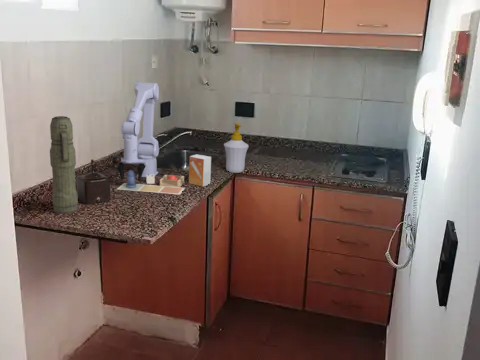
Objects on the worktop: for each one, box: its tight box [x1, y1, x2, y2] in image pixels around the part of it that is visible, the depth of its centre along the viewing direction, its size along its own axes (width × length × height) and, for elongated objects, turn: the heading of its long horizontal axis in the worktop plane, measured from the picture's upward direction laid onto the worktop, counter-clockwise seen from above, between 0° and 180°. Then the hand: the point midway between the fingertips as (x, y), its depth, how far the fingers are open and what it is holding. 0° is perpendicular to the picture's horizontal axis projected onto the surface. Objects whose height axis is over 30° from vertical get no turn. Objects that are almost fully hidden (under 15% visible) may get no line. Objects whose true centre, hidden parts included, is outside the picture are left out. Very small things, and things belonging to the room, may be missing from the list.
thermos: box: [49, 115, 79, 215], centre depth 179 cm, size 9×12×35 cm
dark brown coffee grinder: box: [75, 155, 122, 206], centre depth 196 cm, size 16×11×18 cm
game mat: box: [116, 182, 186, 196], centre depth 214 cm, size 10×28×1 cm, turn 84°
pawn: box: [126, 169, 137, 188], centre depth 214 cm, size 4×4×8 cm
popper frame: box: [159, 174, 185, 188], centre depth 222 cm, size 9×9×3 cm
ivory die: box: [145, 174, 156, 185], centre depth 223 cm, size 4×4×4 cm
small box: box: [188, 153, 212, 188], centre depth 224 cm, size 8×6×13 cm
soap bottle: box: [223, 122, 249, 174], centre depth 247 cm, size 13×13×25 cm
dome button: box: [166, 174, 178, 181], centre depth 222 cm, size 5×5×4 cm
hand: (131, 179), depth 214 cm, fingers open, 7 cm apart
